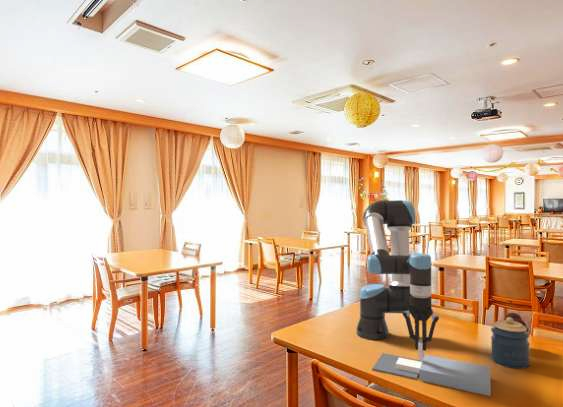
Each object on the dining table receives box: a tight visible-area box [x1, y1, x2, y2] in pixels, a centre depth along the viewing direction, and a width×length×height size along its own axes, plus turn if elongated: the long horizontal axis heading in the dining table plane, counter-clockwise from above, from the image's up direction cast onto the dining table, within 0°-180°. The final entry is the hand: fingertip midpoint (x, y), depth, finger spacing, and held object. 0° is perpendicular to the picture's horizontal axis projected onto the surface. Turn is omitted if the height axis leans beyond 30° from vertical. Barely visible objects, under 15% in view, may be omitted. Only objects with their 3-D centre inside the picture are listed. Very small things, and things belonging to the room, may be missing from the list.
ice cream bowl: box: [502, 312, 529, 334], centre depth 157 cm, size 11×11×15 cm
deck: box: [418, 354, 492, 397], centre depth 130 cm, size 22×14×4 cm, turn 61°
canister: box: [490, 317, 531, 369], centre depth 144 cm, size 13×13×18 cm
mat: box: [371, 352, 423, 380], centre depth 141 cm, size 16×16×1 cm
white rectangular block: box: [396, 358, 422, 374], centre depth 138 cm, size 9×6×2 cm, turn 60°
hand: (420, 358), depth 136 cm, fingers closed
